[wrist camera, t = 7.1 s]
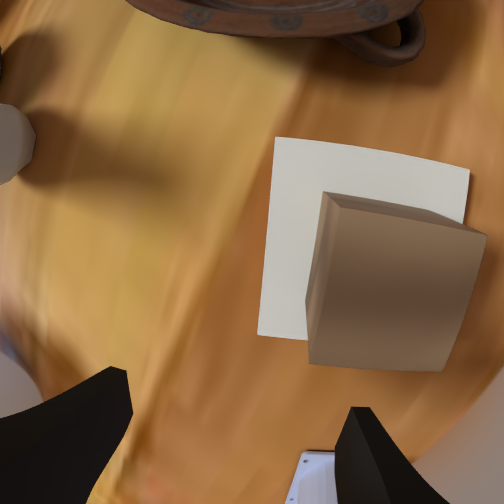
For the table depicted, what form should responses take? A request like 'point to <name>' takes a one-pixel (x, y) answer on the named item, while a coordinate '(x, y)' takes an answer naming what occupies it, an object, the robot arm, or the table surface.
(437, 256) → the walnut cube
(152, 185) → the table surface
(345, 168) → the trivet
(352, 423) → the robot arm
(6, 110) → the salt shaker
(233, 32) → the dish
